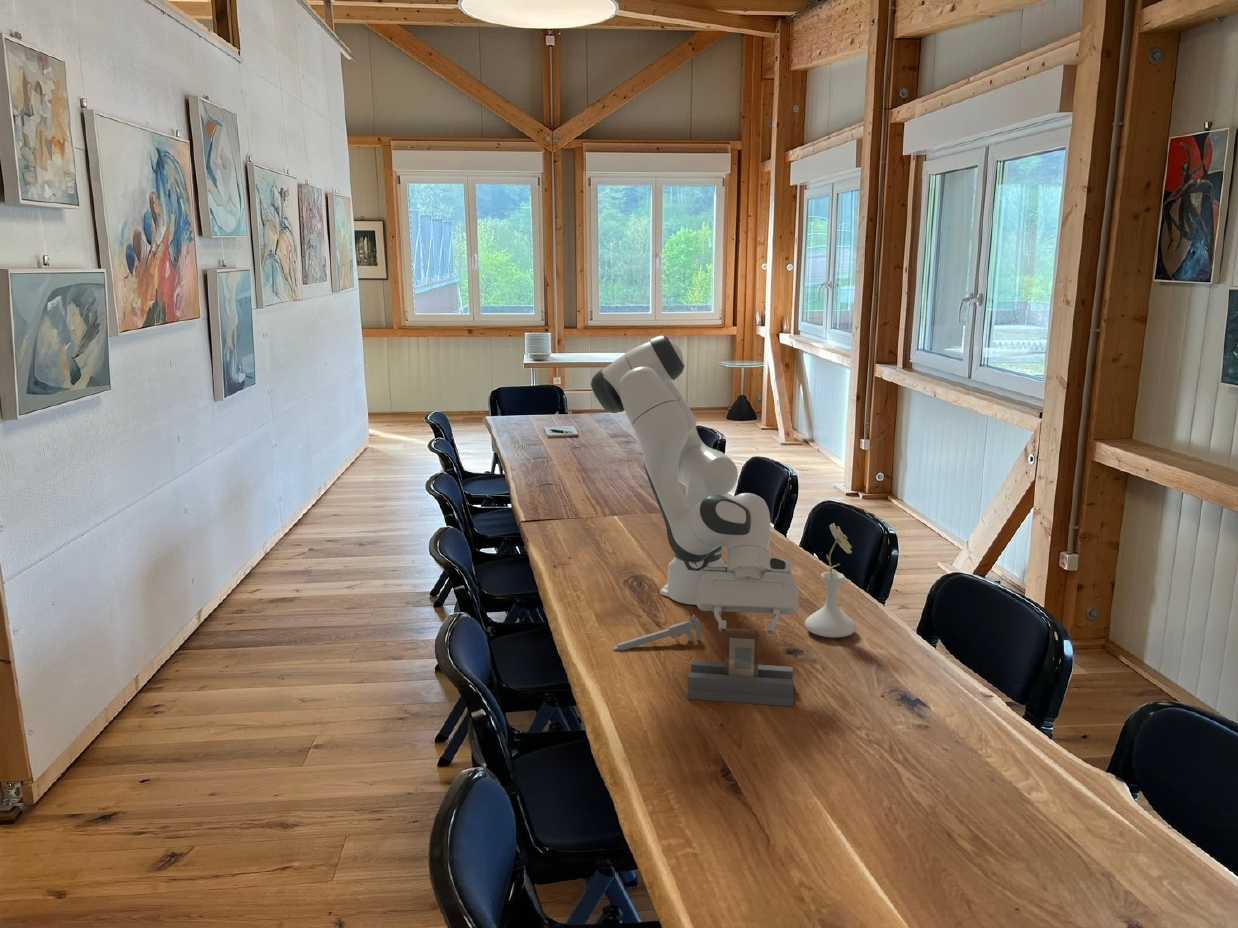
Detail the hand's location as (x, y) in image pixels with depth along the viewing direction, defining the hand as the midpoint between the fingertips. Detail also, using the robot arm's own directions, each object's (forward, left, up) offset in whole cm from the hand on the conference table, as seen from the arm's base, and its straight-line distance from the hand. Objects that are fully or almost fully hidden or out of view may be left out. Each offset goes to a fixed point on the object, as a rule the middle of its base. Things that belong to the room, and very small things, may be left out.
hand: (746, 631), depth 177 cm
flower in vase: (-32, +18, -12) cm, 38 cm away
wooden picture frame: (+2, -1, -10) cm, 10 cm away
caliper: (-17, -20, -12) cm, 29 cm away
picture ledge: (+2, -1, -12) cm, 12 cm away
